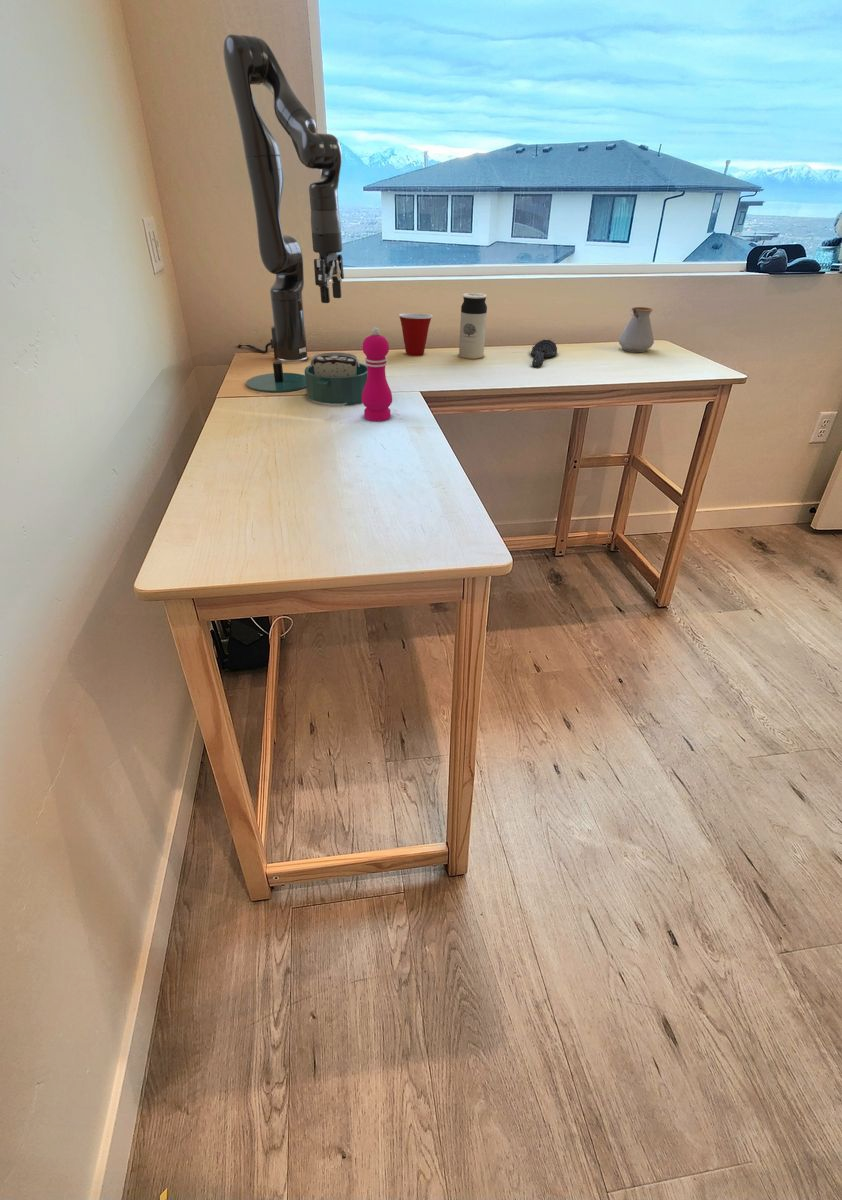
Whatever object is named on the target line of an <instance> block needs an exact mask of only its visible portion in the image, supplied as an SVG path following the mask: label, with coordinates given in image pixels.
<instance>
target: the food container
mask: <svg viewBox="0 0 842 1200" xmlns="http://www.w3.org/2000/svg"><path fill="white" fill-rule="evenodd" d="M359 363H360V362H359V359H358V356H357V355H355V354H353V353H348V352H341V351H339V352H337V351H335V352H333V351H331V352H322V353H317V354H314V355H312V356H311V359H310V365H312V364H313V367H314V373H315V375H318V376H323V377H350V376H355V375H356V373H357V364H358V367H359Z"/></svg>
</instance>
